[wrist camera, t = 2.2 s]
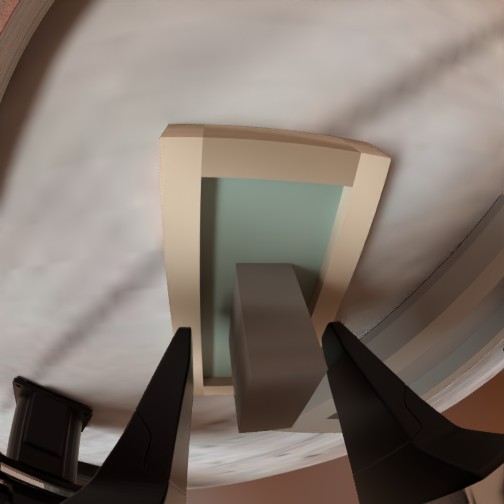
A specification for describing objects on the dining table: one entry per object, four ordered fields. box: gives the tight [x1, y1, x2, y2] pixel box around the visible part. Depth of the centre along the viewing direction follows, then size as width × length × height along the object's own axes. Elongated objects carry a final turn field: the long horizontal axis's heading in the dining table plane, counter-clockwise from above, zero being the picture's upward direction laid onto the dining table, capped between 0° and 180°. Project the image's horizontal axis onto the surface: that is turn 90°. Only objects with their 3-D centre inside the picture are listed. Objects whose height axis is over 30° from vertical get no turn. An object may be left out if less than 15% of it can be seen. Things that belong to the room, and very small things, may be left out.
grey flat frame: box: [272, 194, 504, 433], centre depth 16 cm, size 19×13×2 cm
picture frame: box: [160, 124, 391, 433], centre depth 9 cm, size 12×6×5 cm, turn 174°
